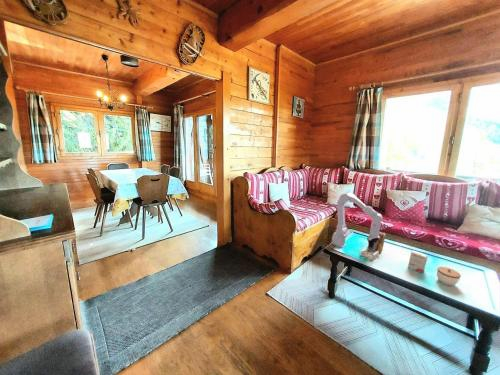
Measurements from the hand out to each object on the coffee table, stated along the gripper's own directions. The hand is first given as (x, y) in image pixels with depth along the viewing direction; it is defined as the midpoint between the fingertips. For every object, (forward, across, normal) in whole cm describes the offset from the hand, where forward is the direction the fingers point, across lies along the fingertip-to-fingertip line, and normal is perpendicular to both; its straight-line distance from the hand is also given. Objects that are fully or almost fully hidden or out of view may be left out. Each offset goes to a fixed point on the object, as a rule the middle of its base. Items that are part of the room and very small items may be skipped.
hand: (371, 246), depth 162 cm
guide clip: (+8, -2, +4) cm, 9 cm away
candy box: (+8, +14, +1) cm, 16 cm away
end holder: (+8, 0, 0) cm, 8 cm away
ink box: (+8, +8, -27) cm, 29 cm away
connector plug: (+2, -2, 0) cm, 3 cm away
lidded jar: (+8, +6, -43) cm, 44 cm away
